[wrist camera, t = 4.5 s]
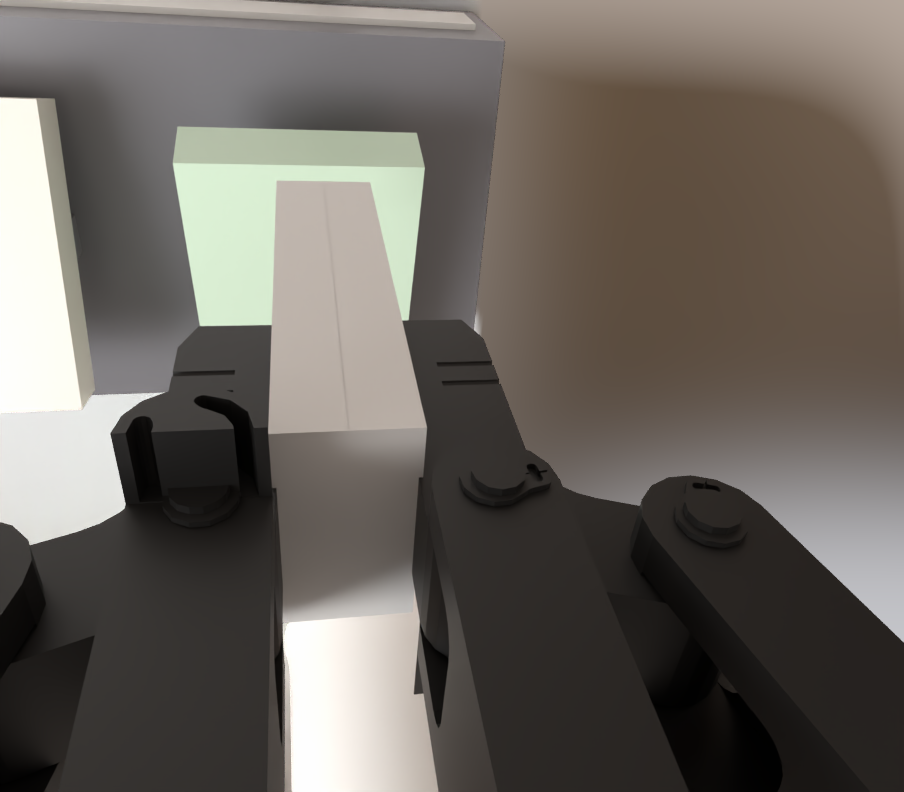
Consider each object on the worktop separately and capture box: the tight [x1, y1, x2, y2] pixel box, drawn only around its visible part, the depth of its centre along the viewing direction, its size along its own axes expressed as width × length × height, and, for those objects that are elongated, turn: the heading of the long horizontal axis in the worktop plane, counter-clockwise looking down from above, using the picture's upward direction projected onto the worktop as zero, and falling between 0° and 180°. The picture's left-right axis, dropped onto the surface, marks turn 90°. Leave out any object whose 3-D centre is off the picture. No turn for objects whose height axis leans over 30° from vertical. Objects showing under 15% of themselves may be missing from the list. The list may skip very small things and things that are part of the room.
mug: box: [284, 589, 438, 792], centre depth 33 cm, size 12×8×12 cm
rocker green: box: [173, 126, 425, 326], centre depth 19 cm, size 5×7×1 cm
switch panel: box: [0, 0, 505, 395], centre depth 21 cm, size 18×10×5 cm, turn 85°
